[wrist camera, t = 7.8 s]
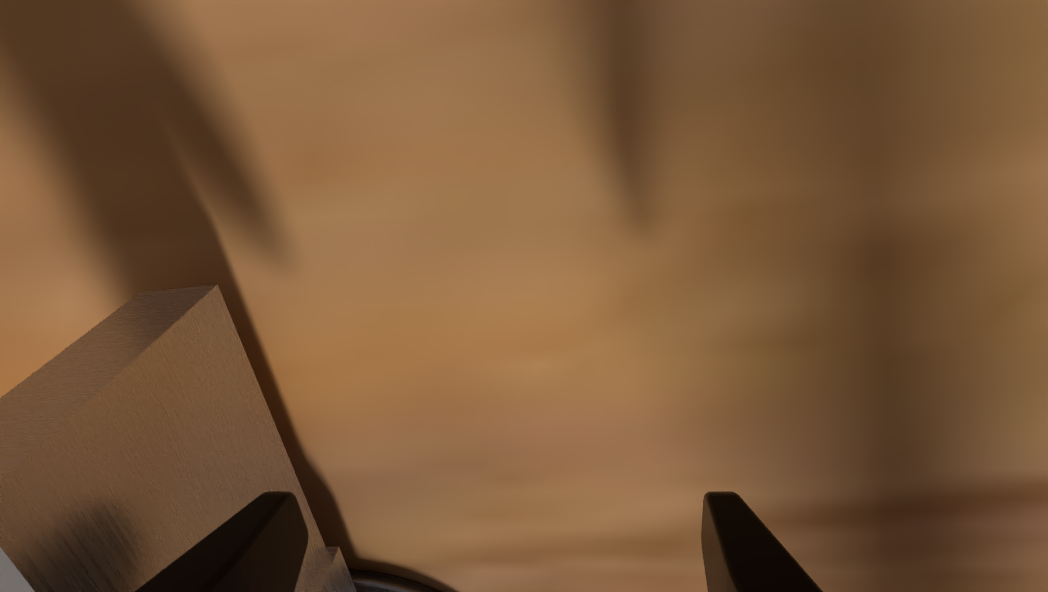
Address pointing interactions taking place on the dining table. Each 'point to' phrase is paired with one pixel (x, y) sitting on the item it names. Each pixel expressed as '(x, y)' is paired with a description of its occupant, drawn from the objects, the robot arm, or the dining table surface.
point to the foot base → (384, 583)
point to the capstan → (140, 451)
